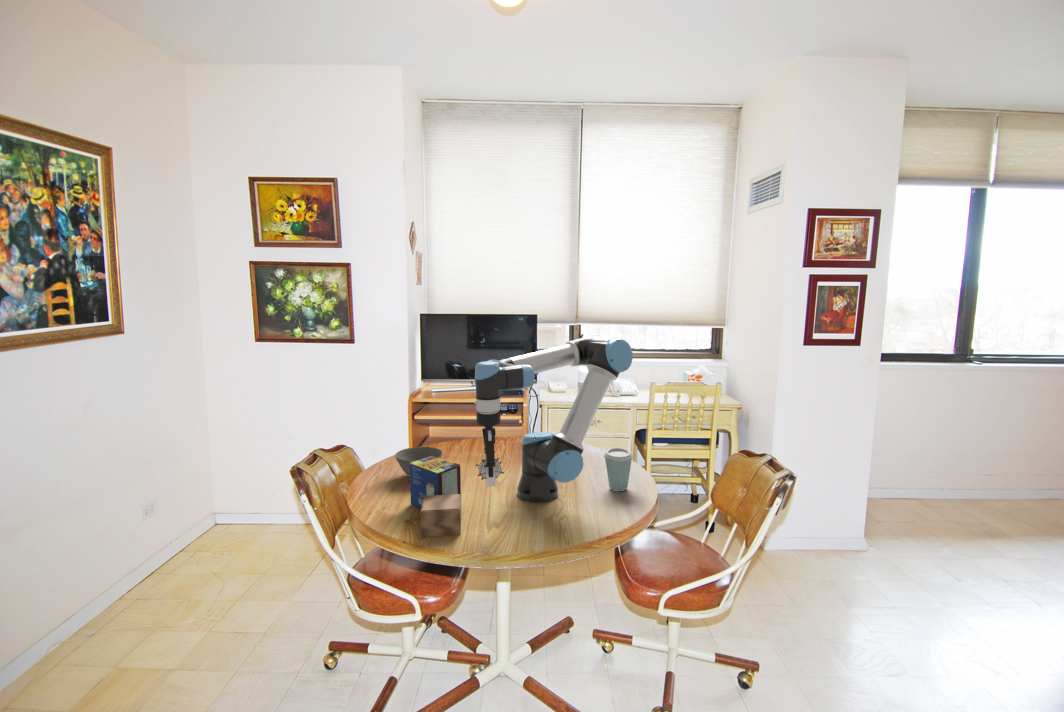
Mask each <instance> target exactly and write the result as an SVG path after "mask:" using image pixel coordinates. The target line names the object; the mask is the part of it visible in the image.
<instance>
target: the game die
mask: <svg viewBox="0 0 1064 712" xmlns="http://www.w3.org/2000/svg"><path fill="white" fill-rule="evenodd" d="M499 458H500V457H497V458H495V479H498V477H499V476H500V475H501V474H505V471H503V470H502V467H501V466H502V465H501V464H502V461H500V462H499ZM490 463H493V462H490ZM484 465H486V459H485V458H484V459H481V462H480V463H479V464H477V463H476V464H475V466H476V467H477V468H478V474H477V477H481V481H482V480H486V467H484Z"/></svg>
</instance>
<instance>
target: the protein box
mask: <svg viewBox="0 0 1064 712" xmlns="http://www.w3.org/2000/svg"><path fill="white" fill-rule="evenodd" d="M461 481H462V480H461V464H460V463H456V462H453V461H450V460H447V459H444V458H442V457H441V458H438V457H435V456H430V457H427V458H424V459H420V460H417V461H414V462H411V463H410V477H409V486H410V487H409V489H410V490H409V491H410V495H409V496H410V505H411V506H413V507H415V508H418V509H420V510H421V508H422V503H423V498H424V496H430V495H451V494H461V495H462V487H461Z"/></svg>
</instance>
